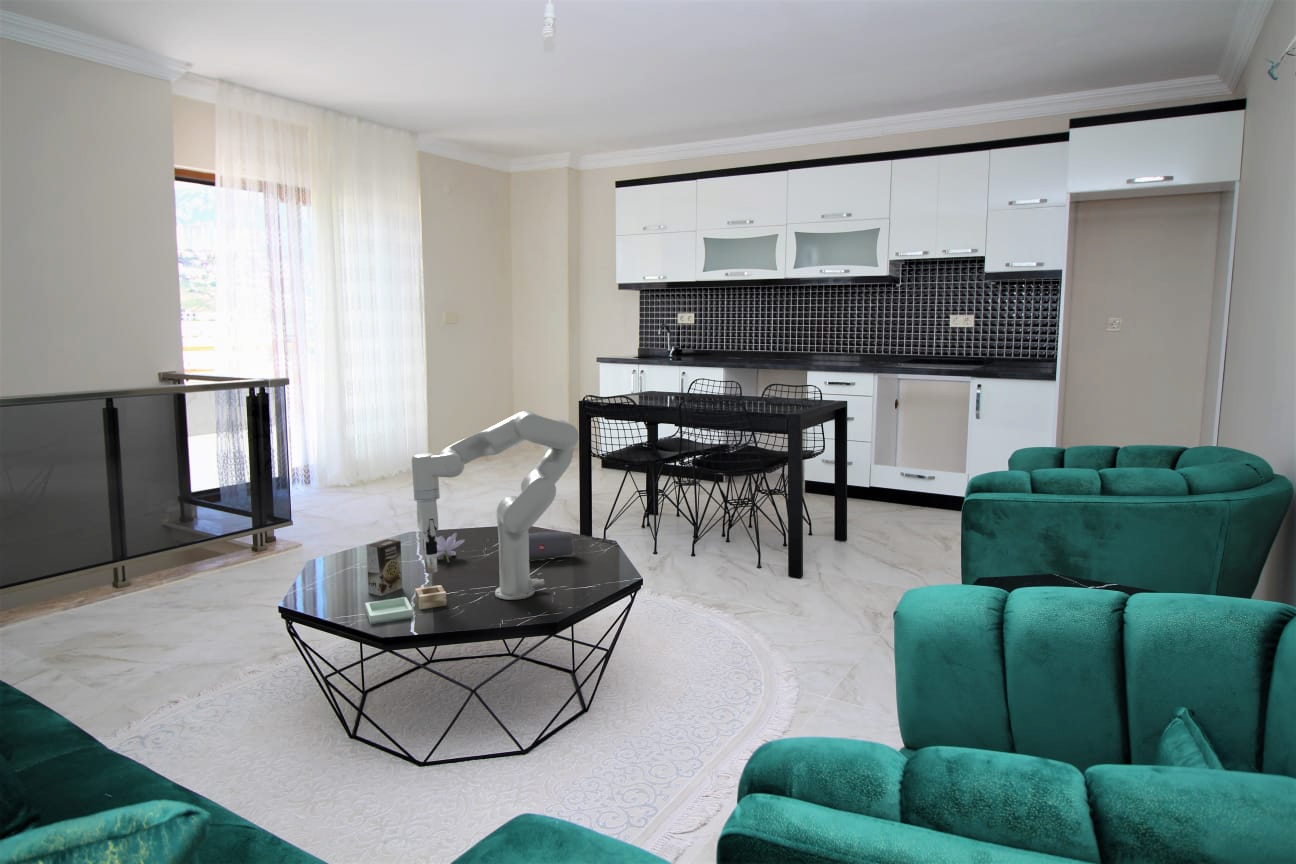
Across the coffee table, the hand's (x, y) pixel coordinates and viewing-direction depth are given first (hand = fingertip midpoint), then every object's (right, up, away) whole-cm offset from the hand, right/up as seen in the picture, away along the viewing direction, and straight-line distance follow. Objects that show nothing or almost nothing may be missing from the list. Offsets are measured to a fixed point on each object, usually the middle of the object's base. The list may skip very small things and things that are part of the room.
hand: (430, 551), depth 243 cm
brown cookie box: (-18, -15, +13) cm, 27 cm away
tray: (-10, -18, -7) cm, 22 cm away
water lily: (-7, -10, +48) cm, 49 cm away
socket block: (0, -16, +2) cm, 16 cm away
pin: (0, -6, +1) cm, 6 cm away
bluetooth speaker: (+27, -10, +47) cm, 56 cm away
